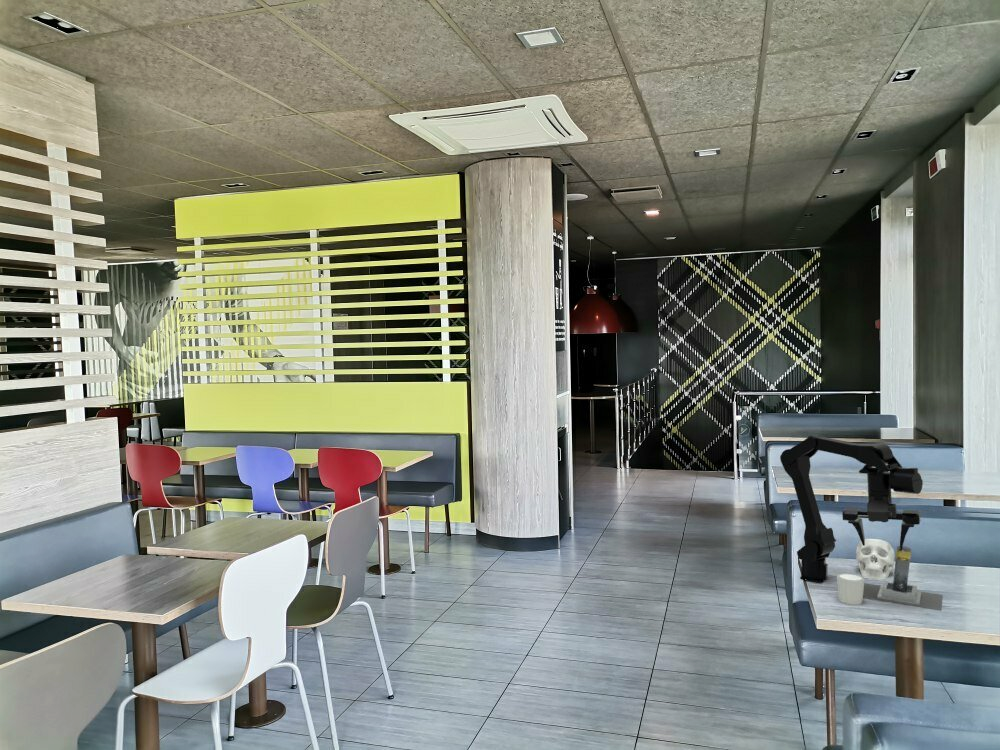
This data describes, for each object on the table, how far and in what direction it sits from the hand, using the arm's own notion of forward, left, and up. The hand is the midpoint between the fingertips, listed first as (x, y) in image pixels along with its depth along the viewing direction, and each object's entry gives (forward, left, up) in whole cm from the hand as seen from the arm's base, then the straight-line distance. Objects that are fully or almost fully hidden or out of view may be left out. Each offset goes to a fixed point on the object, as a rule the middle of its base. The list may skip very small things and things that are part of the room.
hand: (882, 546), depth 200 cm
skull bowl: (-4, +22, -14) cm, 27 cm away
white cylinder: (-7, -9, -14) cm, 18 cm away
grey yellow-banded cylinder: (+4, +1, -13) cm, 13 cm away
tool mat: (+3, +2, -14) cm, 15 cm away
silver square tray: (+4, +1, -14) cm, 14 cm away
